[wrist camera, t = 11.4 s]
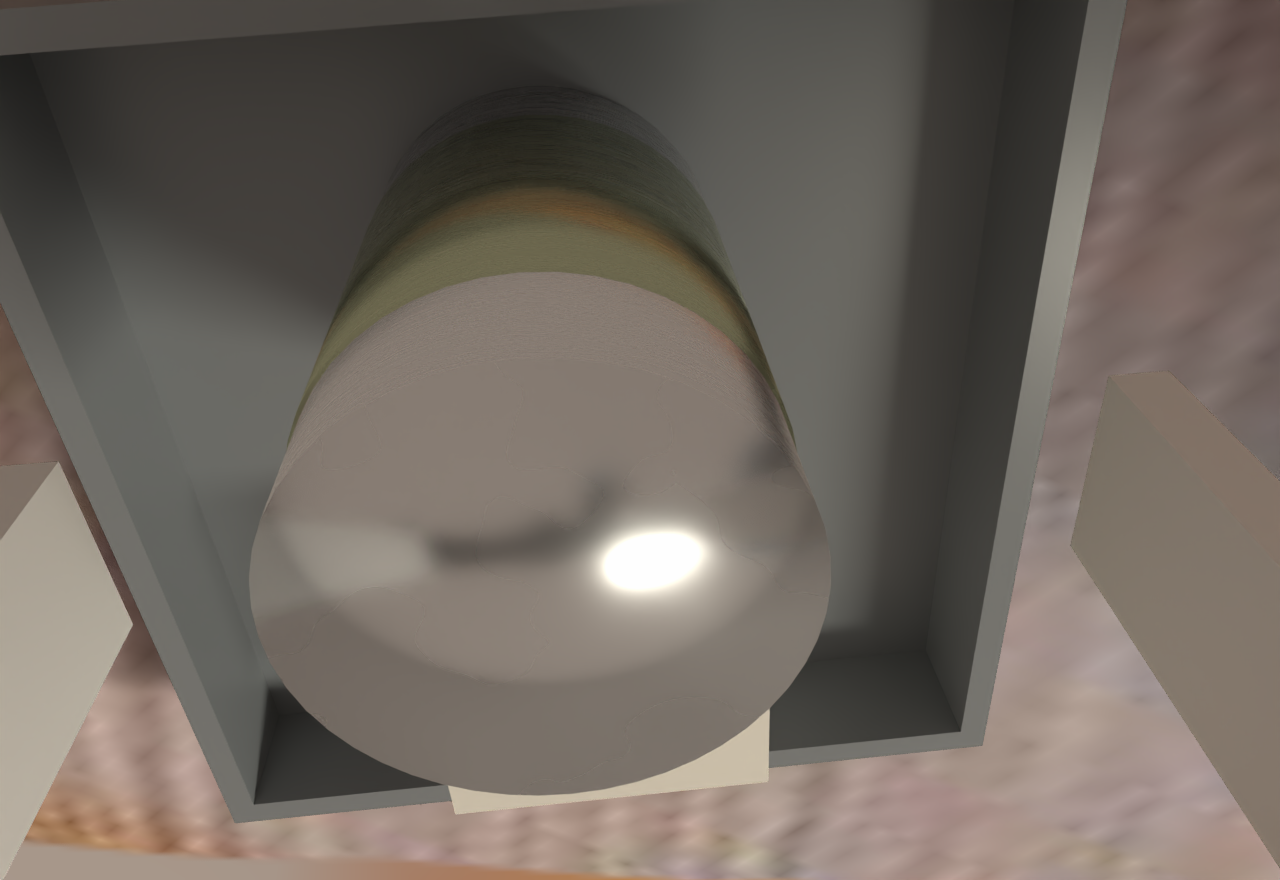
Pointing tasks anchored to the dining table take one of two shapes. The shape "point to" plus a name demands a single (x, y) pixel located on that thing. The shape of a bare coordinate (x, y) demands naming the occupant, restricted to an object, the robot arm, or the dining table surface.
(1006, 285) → the tray
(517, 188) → the tin can
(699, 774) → the cream rectangular block
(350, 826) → the dining table surface
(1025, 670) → the dining table surface
